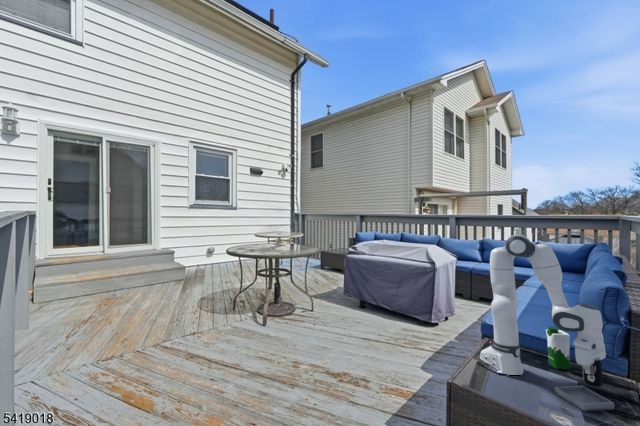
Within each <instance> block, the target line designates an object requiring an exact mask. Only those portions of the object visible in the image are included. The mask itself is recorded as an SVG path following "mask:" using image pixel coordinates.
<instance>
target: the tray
mask: <svg viewBox="0 0 640 426" xmlns="http://www.w3.org/2000/svg"><path fill="white" fill-rule="evenodd" d="M554 394H556V395H557V396H559V397H561V398H562V399H564V400H565V401H566V402H568V403H569V404H572V405H573V406H574V407H576V408H578V409H579V410H580V411H582V412H595V411H614V410H615V408H616V407H615V402H613V401H611V400H610V399H608V398H606V397H605V396H602V395H601V394H599V393H597V392H596V391H594V390H592V389H590V388H588V387H586V386H585V385H566V386H554Z"/></svg>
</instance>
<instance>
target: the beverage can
mask: <svg viewBox="0 0 640 426" xmlns="http://www.w3.org/2000/svg"><path fill="white" fill-rule="evenodd" d="M602 364H603V363H602V360H600V358H599V359H596V360H594V363H593V364H591V365H590V370H591V374H587V373H585V369H584V367H583V366H582V378H583V382H584V383H585V384H587V385H589V386H592V387H595V388H596V387H597V388H598V387H601V386H603V383H604V381H603V369H602V368H603V367H602Z"/></svg>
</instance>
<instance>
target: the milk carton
mask: <svg viewBox="0 0 640 426" xmlns="http://www.w3.org/2000/svg"><path fill="white" fill-rule="evenodd" d="M545 333H546V340H547V357H548V358H547V360H548V364H549V365H550V366H551V367H553V368H554V369H557V370H572V365H571V362H572V361H571V350H570V347H571V346H570V339H571V335H570V334H569V333H568V332H566V331H563V330H560V329H559V328H557V327H556V326H555V327H554V326H549V327H548V329H545Z"/></svg>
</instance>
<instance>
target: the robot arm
mask: <svg viewBox="0 0 640 426" xmlns="http://www.w3.org/2000/svg"><path fill="white" fill-rule="evenodd" d="M515 258H527V259H529V262H530V263H531V267H532V270H533V273H534V275H535V277H536V279H537V280H538V281H539V283H540V284H542V285H543V286H544V287H545V289H546V291H547V294H548V297H549V299H550V303H551V310H550V316H551V318H552V319H551V320H552V322H553V325H554V326H555V328H558V330H562V331H564V332H572V333H573V332H577V335H576V338H575V339H574V340H573V346H574V347H575V348H574V355H575V362H576V364H577V365H579V366H582V368H583V367H584V369H585V373H587V374H591V370H590V365H591V364H593V363H594V360H596V359H599V358H600V361H602V360H603V359H605V358H606V357H607V356H606V355H607V353H606V346H605V343H604V335H603V334H604V333H603V331H602V330H603V326H604V325H603V318H602V314H601V313H602V312H601V311H600V310H599V309H598V308H597V307H595V306H593V305H589V304H586V303H578V304H577V305H574V306H570V304H569V303H568V301H567V298H566V296H565V293H564V291H563V287H562V282H563V271H562V267H561V265H560V262H559V260H558V258H557V256H556V253H555V252H554V250H553V248H552V247H551V246H550V245H548V244H545V243H535V244H534V243H532V242H531V240H530V238H529V237H527V236H525V235H524V234H518V233H517V234H512V235H511V236H509V237H507V240H506V241H505V245H504V246H502V247H500V246H498V247H495V248H493V249H492V250H491V251H490V255H489V273H490V274H489V275H490V284H491V288H492V295H493V299H492V301H491V304H490V309H491V310H490V312H491V318H492V324H493V339H491V340H489V344H490V346H487V347H486V348H484V349H482V350H481V351H480V354H479V357H480V359H481V360H483V361H484V362H486V363H488V364H490V365H491V366H493V367H495V368H496V369H497V370H498V371H497V372H498V373H504V374H509V375H521V376H523V375H524V374H525V372H524V369H523V366H522V362H521V345H520V343H519V328H518V327H519V325H518V320H517V319H518V317H517V309H518V305H519V304H518V296H517V289H516V277H515V266H514V265H515V264H514V260H515ZM523 373H524V374H523ZM522 374H523V375H522ZM509 375H508V376H509Z"/></svg>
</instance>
